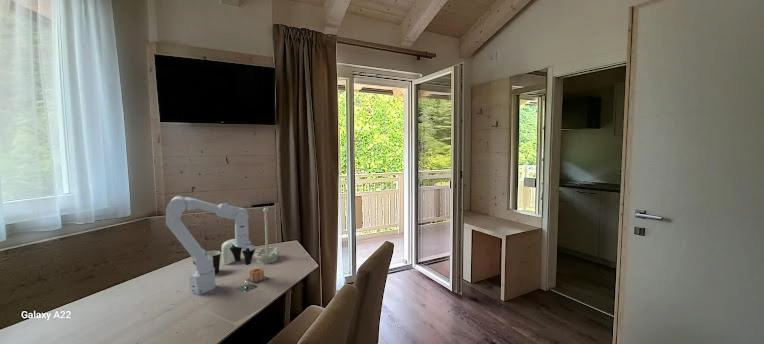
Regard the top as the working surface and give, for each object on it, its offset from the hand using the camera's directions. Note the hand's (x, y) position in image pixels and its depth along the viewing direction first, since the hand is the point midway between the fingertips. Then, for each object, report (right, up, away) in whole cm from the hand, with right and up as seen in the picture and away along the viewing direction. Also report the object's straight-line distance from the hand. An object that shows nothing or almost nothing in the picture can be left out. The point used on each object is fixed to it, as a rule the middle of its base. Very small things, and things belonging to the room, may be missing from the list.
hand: (242, 262), depth 145 cm
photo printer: (-19, -8, +28) cm, 35 cm away
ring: (+6, -8, +3) cm, 10 cm away
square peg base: (+6, -10, +3) cm, 12 cm away
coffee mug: (-23, -9, +13) cm, 28 cm away
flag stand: (0, -8, +31) cm, 32 cm away
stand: (+4, -10, -6) cm, 13 cm away
